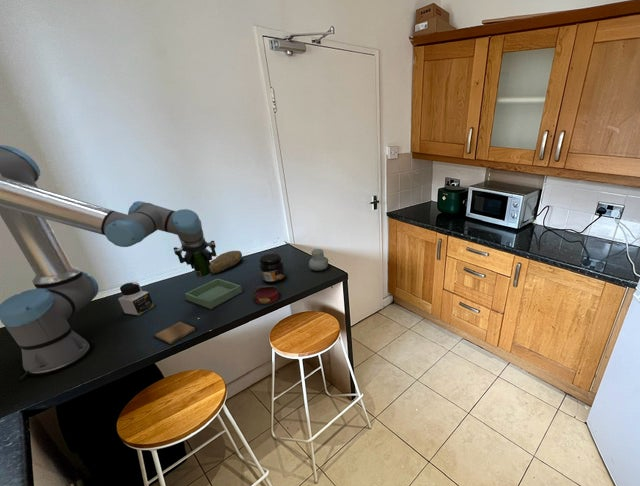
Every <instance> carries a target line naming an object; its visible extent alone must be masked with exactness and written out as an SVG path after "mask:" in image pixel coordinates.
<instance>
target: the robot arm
mask: <svg viewBox="0 0 640 486" xmlns="http://www.w3.org/2000/svg"><path fill="white" fill-rule="evenodd" d="M40 176H41V170H40V167H39V165H38V164H37V162H36V161H35V160H34V159H33V158H32V156H30V155H29V154H27V153H26V152H23V151H22V150H20V149H18V148H16V147H13V146H10V145H5V144H0V217H1V219H2V221H3V223H4V224H5V226H6V228H7V229H8V230H9V232H10V234H11V235H12V237H13V239H14V241H15V242H16V244H17V246H18V247H19V249H20V251H21V252H22V255H23V256H24V258H25V259H26V261H27V263H28V265H29V266H30V267H31V269H32V271H33V273H34V274H35V276H34V278H33V280H32V281H31V282H32V284H33V286H34V287H35V288H32V289H28V290H25V291H22V292H20V293H17V294H16V293H15V294H14V295H11V296H9V297H8V298H6V299H4V300H3V301H2V302H1V303H0V322H1V324H2V325H3V326H4V327H5V328H6V330H7V331H8V333H9V334H10V335H11V337H12V338H13V339H14V341H15V342H16V344H17V345H18V347H19V348H20V350H21V359H22V361H21V362H22V367H23V370H24V371H25V372H24V373H23V374H22V375H21V376H20V378H19V380H24V379H25V378H26V377H27V375H29V376H44V375H49V374H53V373H56V372H59V371H61V370H64V369H66V368H68V367H71V366H73V365H74V364H76V363H78V362H80V360H82V359H83V358H85V357H86V356H87V355H88V354H89V352H90V351H91V345H90V343H89V342H88V341H87V340H86V339H85V338H83V337H82V336H81V335H80V334H79V333H77V332H75V331H74V330H73V329H72V327H71V325H70V324H69V322H68V320H69V319H70V318H71V317H72V316H74V315H75V314H76V313H78V312H79V311H80V310H81V309H83V308H84V307H86V306H88V305H89V304H90V303H92V301H93V300H94V299H95V298H96V297H97V295H98V294H99V283H98V282H97V280H96V279H95V278H94V277H93V276H92V275H89V273H87V272H84V271H82V270H81V268H79V267H76V266H74V265H72V263H71V262H70V260H69V258H68V256H67V254H66V252H65V249H63V247H62V244H61V243H60V241H59V239H58V236H57V235H56V233H55V232H54V231H55V230H53V228H52V225H51V224H50V222H49V221H52V222H55V223H59V224H62V225H67V226H70V227H73V228H77V229H80V230H84V231H88V232H91V233H94V234H99V235H102V236H105V237H106V239H107V240H108V242H110V243H112V244H113V245H115V246H117V247H120V248H128V247H129V248H130V247H132V246H135V245H136V244H139V243H141V242H142V241H144V239H146V238H147V237H149V236H150V235H152V234H154V233H155V232H157V231H161V232H165V233H169V234H173V235H176V236H177V238H178V239H179V242H180V244H181V246H180V247H177V246H175V247H173V252H174V255H176V256H177V257H178V261H179V264H184V263H186V266H189V265H190V267H191V269H193V270H194V267H193V264H192V261H191V257H192V256H193V253H196V252H201V253H202V254H204V255H205V256H206V258H207V261H208V265H210V261H212V260H213V257H214V258H215V257H218V255H217V252H216V247H217V245H216V243H215V240H210V242H208V241H206V239H205V234H204V231H203V226H202V221H201V218H200V217H199V215H198V214H197V213H196V212H195V211H193V210H192V209H188V208H185V209H178V210H173V209H169V208H166V207H163V206H159V205H156V204H153V203H150V202H145V201H141V200H137V201H134V202H133V203H132V205H130V207H129V208H128V211H127V213H123V212H120V211H116V210H113V209H109V208H106V207H103V206H101V205H97V204H93V203H90V202H86V201H83V200H80V199H77V198H74V197H70V196H67V195H64V194H61V193H57V192H54V191H52V190H51V191H50V190H48V189H44V188H40V187H39V186H38V185H37V182H38V180H39V179H40ZM208 248H210V250H211V251H210V250H209V249H208ZM183 252H185V253H184V255H183V254H182V253H183ZM183 256H184V257H183Z"/></svg>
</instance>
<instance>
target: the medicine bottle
mask: <svg viewBox="0 0 640 486" xmlns="http://www.w3.org/2000/svg"><path fill="white" fill-rule="evenodd" d="M119 290H120V292H121V294H122V296H120V297H119V298H117V300H118V302H119V305H120V307H121V309H122V311H123V313H124V314H127V315H133V316H134V315H135V316H141V315H142V314H143V313H146V312H147V311H149V310H150V309H152V308H153V307H155V304H154V302H153V299H152V297H151V295H150V292H149V291H146V290H145V291H144V290H143V289H142V287H141V284H140V283H139V282H137V281H129V282H126V283H124V284H122V285H121V286H120V287H119Z"/></svg>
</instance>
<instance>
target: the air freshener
mask: <svg viewBox="0 0 640 486" xmlns="http://www.w3.org/2000/svg"><path fill="white" fill-rule="evenodd" d="M324 254H325V253H324V250H323V249H322V248H315V249H313V250H311V258H310V260H309V262H308V267H309V269H311V270H312V271H316V272H320V271H321V272H322V271H324V270H326V269H327V268H328V266H329V258H328V257H325V255H324Z"/></svg>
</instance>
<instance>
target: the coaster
mask: <svg viewBox="0 0 640 486" xmlns="http://www.w3.org/2000/svg"><path fill="white" fill-rule="evenodd" d="M195 331H196V328H195V327H194V326H191V325H190V324H187V323H185V322H182V321H178V322H176V323H174V324H172V325H170V326H168V327H166V328H165V329H163V330H161V331H160V332H157V333H156V334H154V336H155V338H158V339H160V340H161V341H164V342H166V343H167V344H173V343H175V342H177V341H178V340H180V339H182V338H184V337H185V336H187V335H189V334H191V333H193V332H195Z"/></svg>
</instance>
